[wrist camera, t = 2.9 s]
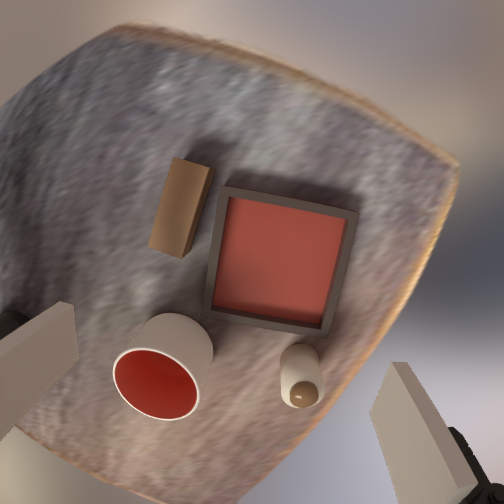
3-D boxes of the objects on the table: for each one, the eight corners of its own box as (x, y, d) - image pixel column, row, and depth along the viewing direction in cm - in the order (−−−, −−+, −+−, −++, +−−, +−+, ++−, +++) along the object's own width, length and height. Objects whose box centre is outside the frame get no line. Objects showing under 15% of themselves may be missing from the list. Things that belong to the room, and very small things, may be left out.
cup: (164, 294, 38) (134, 328, 28) (230, 339, 39) (218, 385, 29) (131, 345, 40) (100, 385, 30) (190, 386, 41) (172, 433, 31)
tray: (205, 308, 38) (201, 316, 36) (224, 185, 35) (220, 185, 32) (323, 329, 38) (326, 338, 36) (353, 210, 35) (359, 212, 32)
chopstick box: (160, 240, 37) (148, 246, 33) (183, 159, 35) (173, 157, 31) (190, 250, 37) (181, 258, 33) (215, 169, 35) (209, 167, 31)
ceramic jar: (276, 372, 40) (277, 410, 32) (284, 341, 39) (287, 376, 31) (312, 377, 40) (319, 415, 32) (322, 346, 38) (332, 382, 31)
